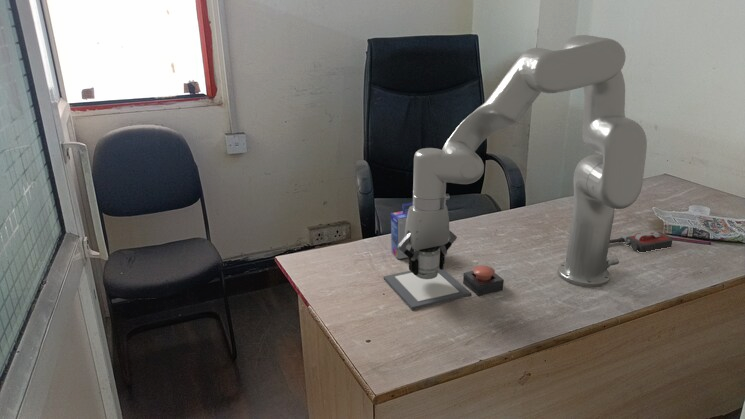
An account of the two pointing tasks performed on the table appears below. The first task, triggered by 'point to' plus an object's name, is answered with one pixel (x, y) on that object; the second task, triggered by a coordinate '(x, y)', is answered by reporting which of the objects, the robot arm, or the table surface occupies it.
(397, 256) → the ink cartridge box
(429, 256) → the camera lens
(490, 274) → the button
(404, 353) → the table surface
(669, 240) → the walkie-talkie
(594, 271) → the robot arm
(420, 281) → the desk mat
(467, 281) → the button housing
